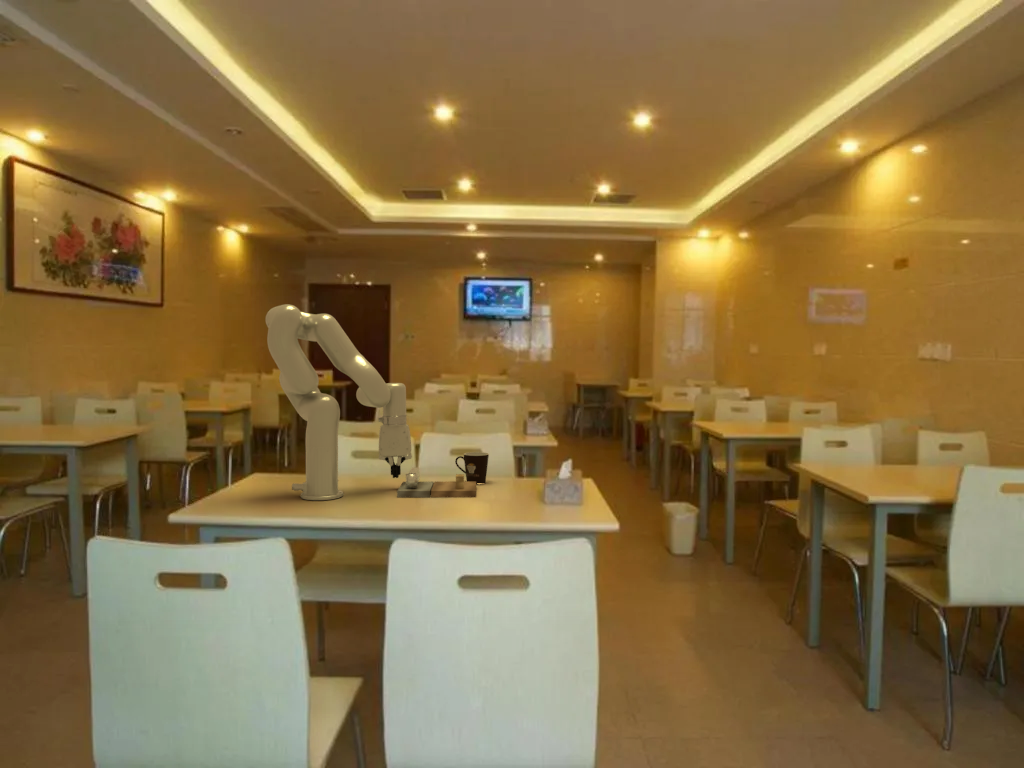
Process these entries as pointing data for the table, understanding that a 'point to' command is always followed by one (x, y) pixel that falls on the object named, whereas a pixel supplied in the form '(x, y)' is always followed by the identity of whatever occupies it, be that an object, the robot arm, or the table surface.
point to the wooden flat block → (440, 489)
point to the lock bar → (412, 478)
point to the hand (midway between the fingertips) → (395, 477)
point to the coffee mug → (475, 466)
